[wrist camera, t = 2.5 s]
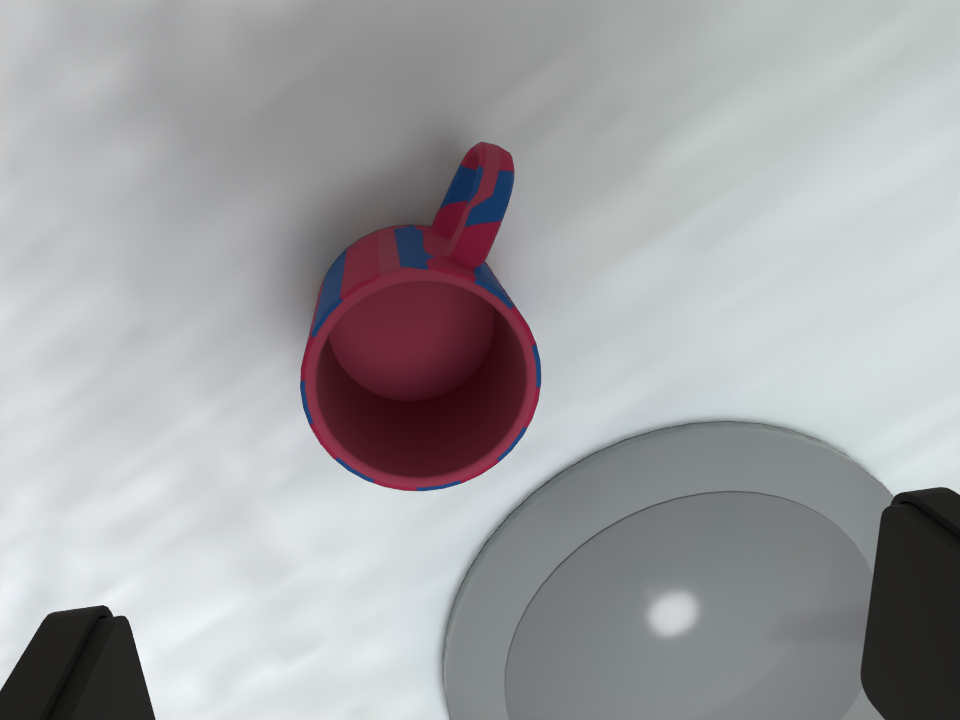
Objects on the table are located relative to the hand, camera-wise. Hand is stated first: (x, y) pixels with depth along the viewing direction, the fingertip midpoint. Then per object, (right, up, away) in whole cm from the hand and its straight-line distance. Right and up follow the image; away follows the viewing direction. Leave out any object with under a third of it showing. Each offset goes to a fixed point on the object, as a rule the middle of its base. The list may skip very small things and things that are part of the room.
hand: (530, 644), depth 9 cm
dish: (+9, -9, +25) cm, 28 cm away
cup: (-2, +7, +18) cm, 19 cm away
